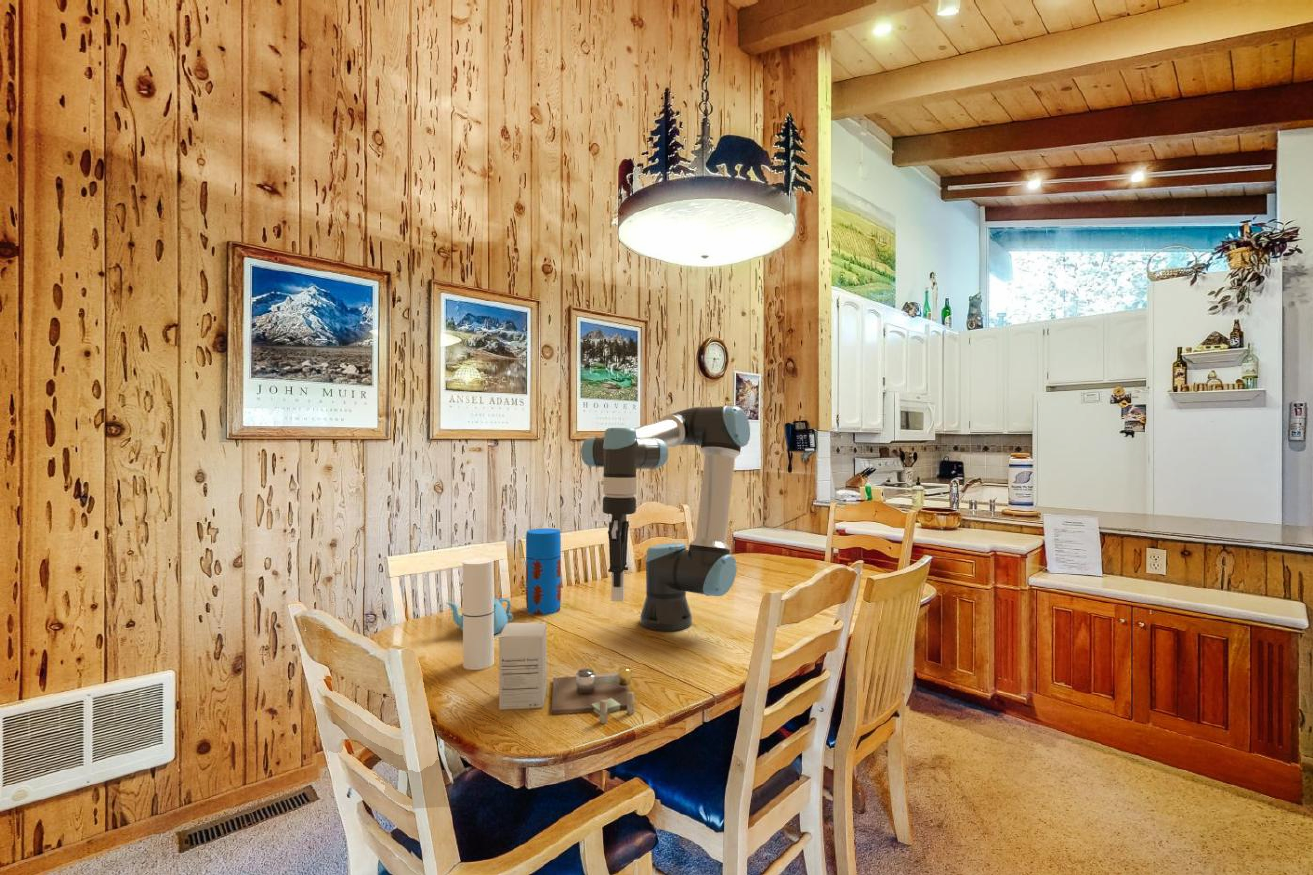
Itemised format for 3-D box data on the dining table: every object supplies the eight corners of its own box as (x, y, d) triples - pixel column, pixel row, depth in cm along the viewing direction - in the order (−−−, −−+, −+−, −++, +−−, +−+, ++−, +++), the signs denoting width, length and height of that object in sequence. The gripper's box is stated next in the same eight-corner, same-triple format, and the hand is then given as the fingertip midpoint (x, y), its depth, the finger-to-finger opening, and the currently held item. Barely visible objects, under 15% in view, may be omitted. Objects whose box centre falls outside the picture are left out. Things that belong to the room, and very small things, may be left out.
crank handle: (576, 693, 125) (576, 675, 125) (576, 685, 129) (576, 668, 129) (631, 690, 127) (631, 672, 127) (629, 682, 131) (629, 665, 131)
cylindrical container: (466, 672, 140) (465, 565, 140) (460, 661, 146) (460, 559, 146) (496, 666, 143) (496, 562, 143) (490, 656, 149) (490, 556, 149)
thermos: (553, 616, 183) (553, 534, 183) (520, 614, 185) (520, 533, 185) (565, 606, 193) (565, 528, 193) (534, 604, 196) (534, 527, 195)
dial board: (625, 676, 137) (625, 659, 137) (636, 721, 116) (636, 700, 116) (553, 681, 134) (553, 663, 134) (551, 727, 113) (551, 706, 113)
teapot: (519, 625, 175) (519, 589, 175) (494, 642, 160) (494, 603, 160) (474, 621, 178) (474, 586, 178) (445, 637, 163) (445, 600, 163)
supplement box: (505, 691, 129) (505, 622, 129) (547, 689, 130) (547, 621, 130) (497, 710, 120) (497, 636, 120) (542, 708, 121) (542, 635, 121)
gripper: (608, 493, 143) (607, 592, 142) (596, 497, 130) (595, 607, 129) (640, 494, 142) (638, 594, 141) (631, 498, 129) (629, 608, 128)
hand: (617, 600), depth 135 cm, fingers closed
